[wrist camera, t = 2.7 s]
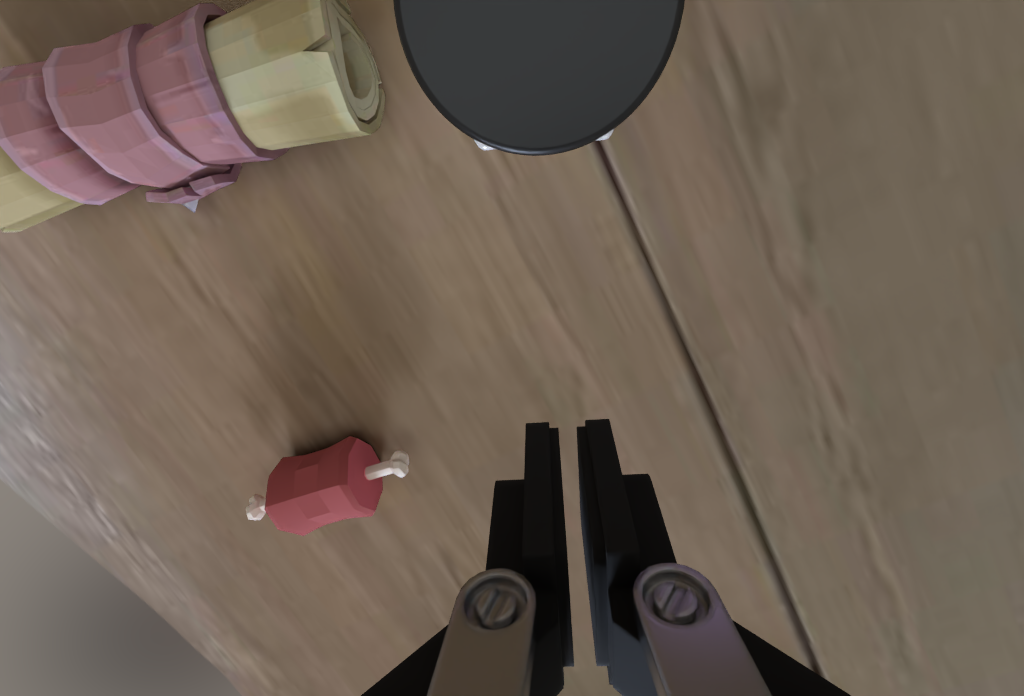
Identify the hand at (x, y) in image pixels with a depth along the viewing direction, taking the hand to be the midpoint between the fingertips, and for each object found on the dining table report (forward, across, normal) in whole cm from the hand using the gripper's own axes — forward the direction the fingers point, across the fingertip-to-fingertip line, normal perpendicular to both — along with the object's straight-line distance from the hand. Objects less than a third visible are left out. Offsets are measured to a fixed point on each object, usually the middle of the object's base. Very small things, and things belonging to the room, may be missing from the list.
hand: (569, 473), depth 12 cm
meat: (+19, +16, +14) cm, 28 cm away
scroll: (+19, +18, -8) cm, 27 cm away
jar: (+19, 0, -10) cm, 22 cm away
